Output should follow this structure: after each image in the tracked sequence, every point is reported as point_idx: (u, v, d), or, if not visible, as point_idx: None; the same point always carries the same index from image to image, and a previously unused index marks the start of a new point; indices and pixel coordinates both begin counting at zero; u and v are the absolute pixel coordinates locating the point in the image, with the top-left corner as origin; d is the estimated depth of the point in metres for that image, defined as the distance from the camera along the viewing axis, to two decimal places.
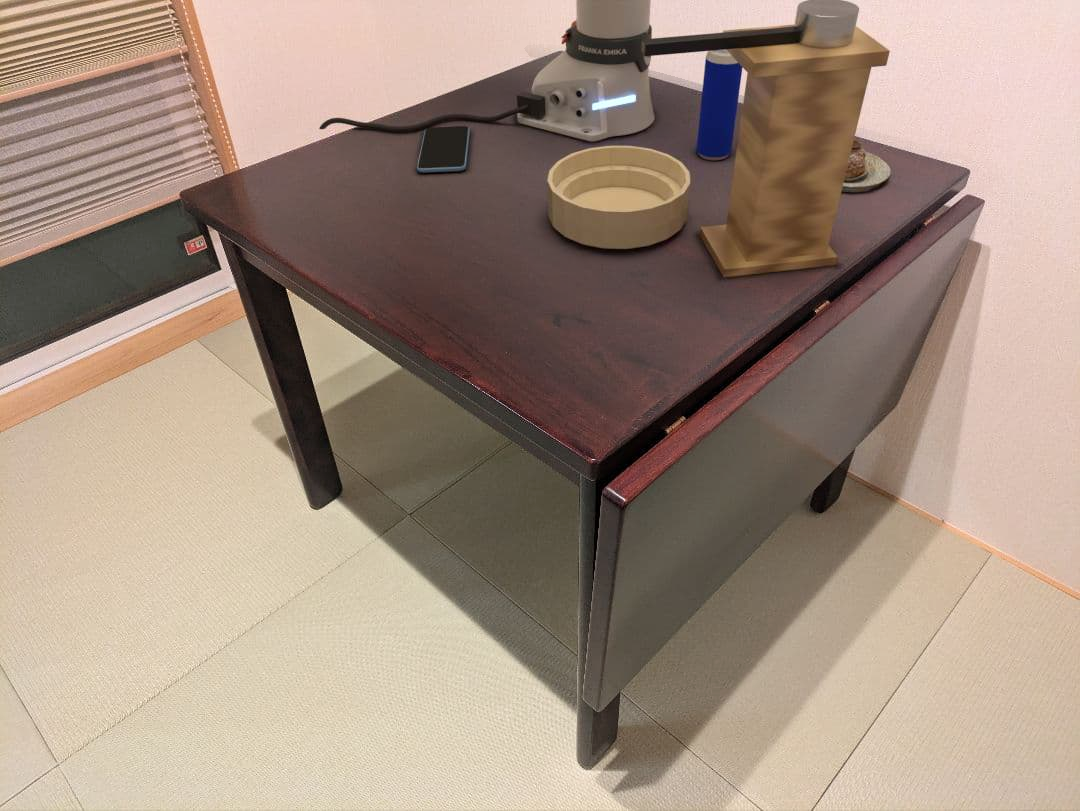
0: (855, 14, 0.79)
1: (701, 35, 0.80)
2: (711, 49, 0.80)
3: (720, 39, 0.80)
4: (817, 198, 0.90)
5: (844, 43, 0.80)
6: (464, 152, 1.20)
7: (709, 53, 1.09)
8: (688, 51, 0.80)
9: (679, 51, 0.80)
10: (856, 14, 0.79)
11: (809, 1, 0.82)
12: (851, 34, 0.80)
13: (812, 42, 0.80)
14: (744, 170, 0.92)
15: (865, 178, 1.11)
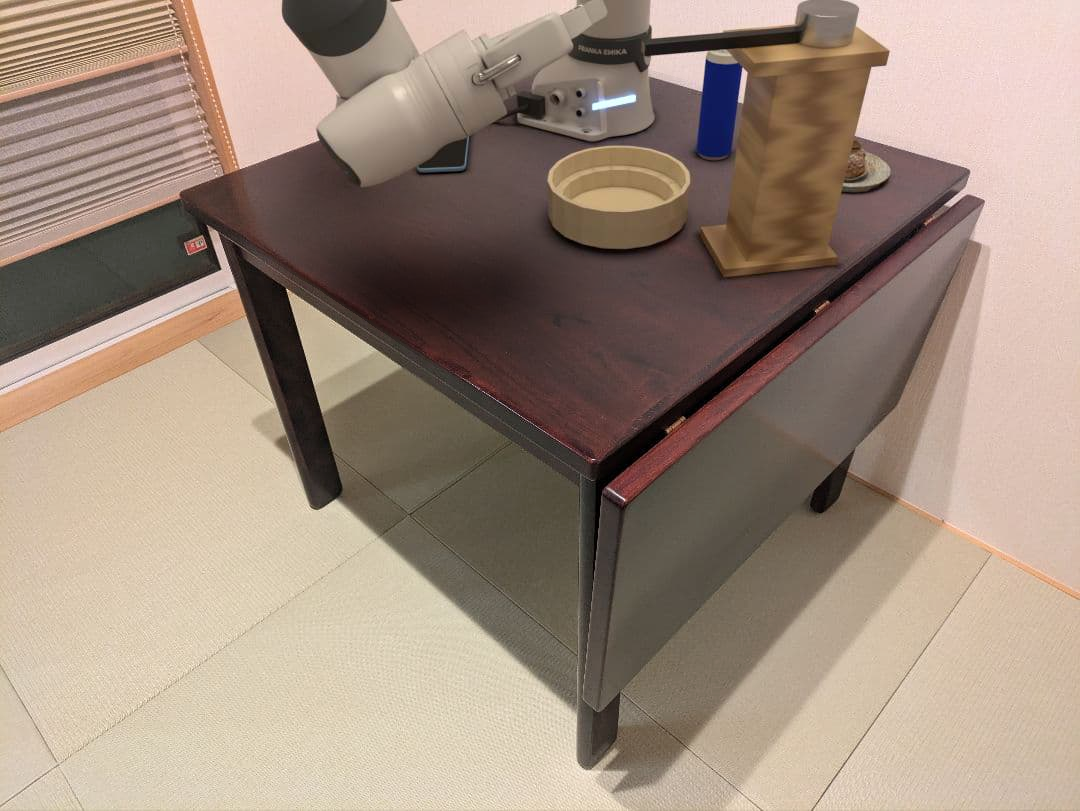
0: (855, 14, 0.79)
1: (701, 35, 0.80)
2: (711, 49, 0.80)
3: (720, 39, 0.80)
4: (817, 198, 0.90)
5: (844, 43, 0.80)
6: (464, 152, 1.20)
7: (709, 53, 1.09)
8: (688, 51, 0.80)
9: (679, 51, 0.80)
10: (856, 14, 0.79)
11: (809, 1, 0.82)
12: (851, 34, 0.80)
13: (812, 42, 0.80)
14: (744, 170, 0.92)
15: (865, 178, 1.11)
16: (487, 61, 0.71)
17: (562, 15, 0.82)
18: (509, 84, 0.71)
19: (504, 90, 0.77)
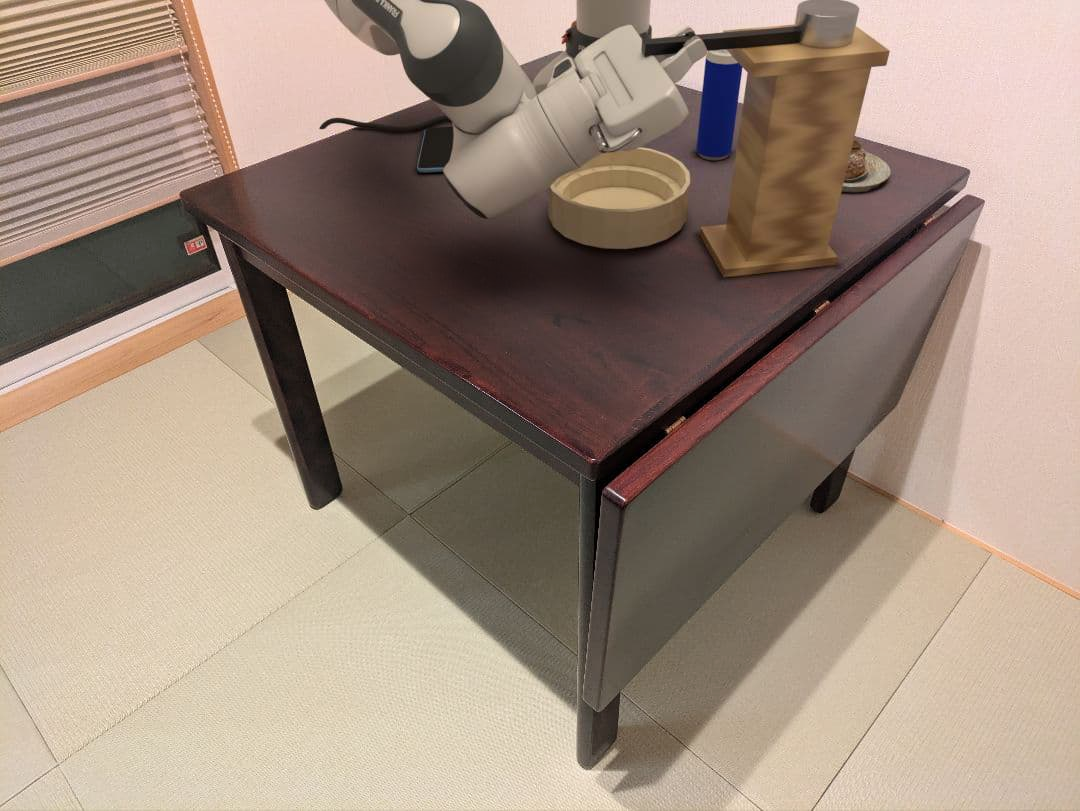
0: (855, 14, 0.79)
1: (701, 35, 0.80)
2: (711, 49, 0.80)
3: (720, 39, 0.80)
4: (817, 198, 0.90)
5: (844, 43, 0.80)
6: None
7: (709, 53, 1.09)
8: None
9: None
10: (856, 14, 0.79)
11: (809, 1, 0.82)
12: (851, 34, 0.80)
13: (812, 42, 0.80)
14: (744, 170, 0.92)
15: (865, 178, 1.11)
16: (609, 130, 0.77)
17: None
18: (629, 150, 0.78)
19: None
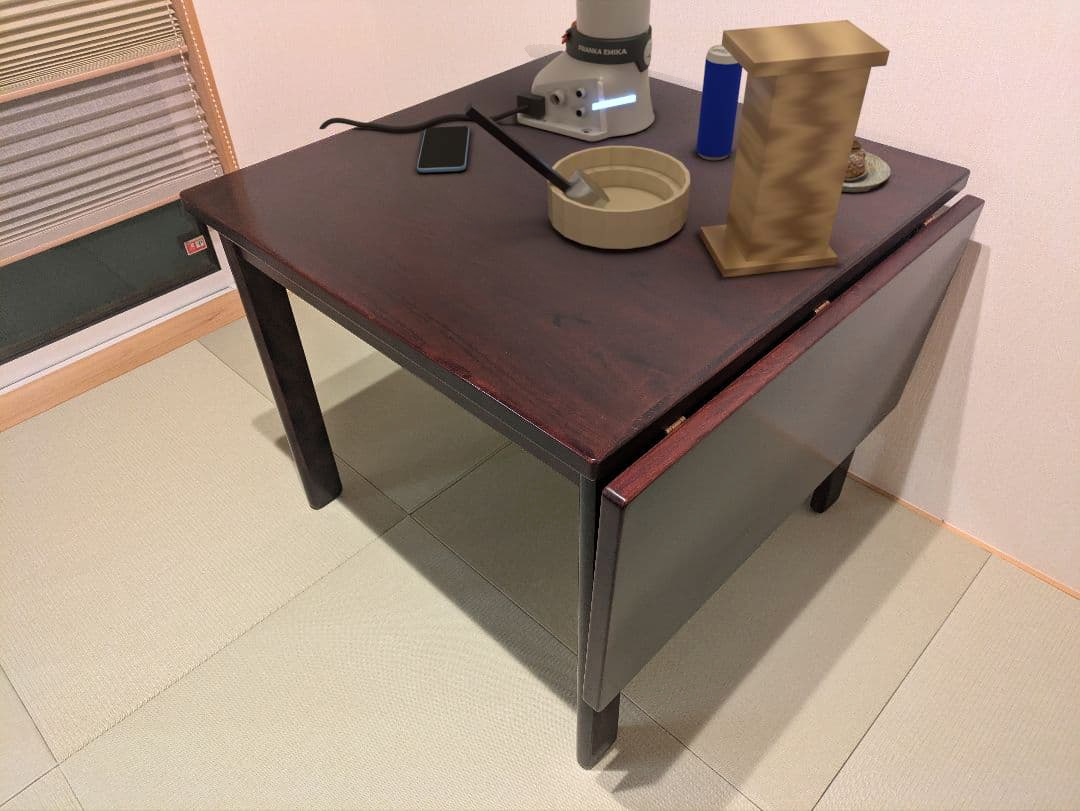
0: (606, 202, 1.02)
1: (509, 134, 0.96)
2: (510, 148, 0.96)
3: (519, 146, 0.96)
4: (817, 198, 0.90)
5: None
6: (464, 152, 1.20)
7: (709, 53, 1.09)
8: (495, 137, 0.95)
9: (489, 131, 0.94)
10: (607, 203, 1.02)
11: (583, 172, 1.03)
12: None
13: (572, 198, 1.00)
14: (744, 170, 0.92)
15: (865, 178, 1.11)
16: None
17: None
18: None
19: None
